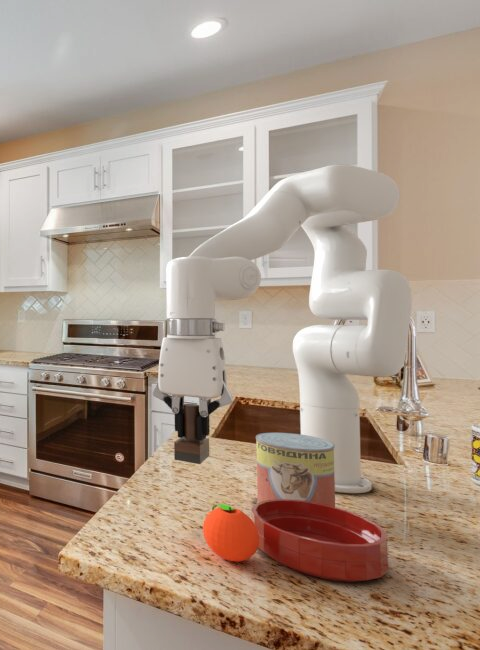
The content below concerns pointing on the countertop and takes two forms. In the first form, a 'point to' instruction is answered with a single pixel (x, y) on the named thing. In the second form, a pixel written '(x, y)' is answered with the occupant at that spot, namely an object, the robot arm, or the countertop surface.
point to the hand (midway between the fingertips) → (192, 436)
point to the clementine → (230, 533)
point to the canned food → (295, 468)
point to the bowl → (321, 539)
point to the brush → (191, 439)
